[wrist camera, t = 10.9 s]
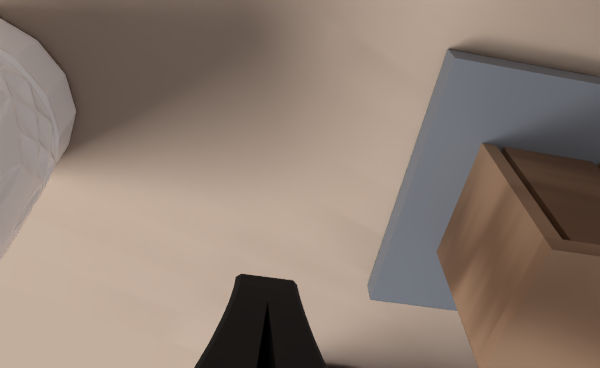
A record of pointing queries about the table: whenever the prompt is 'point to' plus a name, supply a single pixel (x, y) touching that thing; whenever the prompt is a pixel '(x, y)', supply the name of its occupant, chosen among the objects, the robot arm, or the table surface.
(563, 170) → the sliding lid crate
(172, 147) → the table surface
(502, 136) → the post base
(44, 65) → the white cup
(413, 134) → the table surface
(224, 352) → the robot arm
